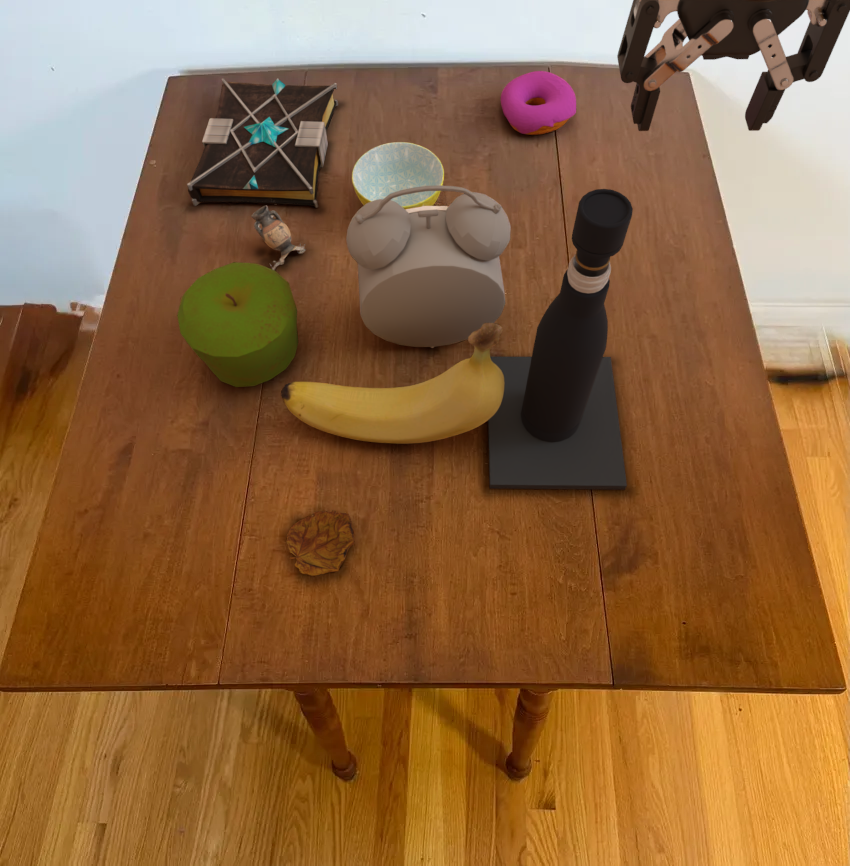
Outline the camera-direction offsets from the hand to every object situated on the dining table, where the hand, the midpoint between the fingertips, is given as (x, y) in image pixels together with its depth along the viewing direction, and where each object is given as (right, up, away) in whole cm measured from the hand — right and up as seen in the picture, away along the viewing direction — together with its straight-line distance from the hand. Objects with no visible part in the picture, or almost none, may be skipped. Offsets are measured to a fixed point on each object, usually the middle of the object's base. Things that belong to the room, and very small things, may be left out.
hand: (696, 124), depth 56 cm
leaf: (-32, -36, +16) cm, 50 cm away
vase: (-40, -1, +35) cm, 53 cm away
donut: (-6, +21, +46) cm, 51 cm away
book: (-43, +15, +44) cm, 63 cm away
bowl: (-25, +5, +38) cm, 45 cm away
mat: (-7, -23, +22) cm, 33 cm away
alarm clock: (-21, -12, +28) cm, 37 cm away
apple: (-41, -15, +27) cm, 52 cm away
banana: (-25, -24, +22) cm, 41 cm away
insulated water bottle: (-8, -23, +21) cm, 32 cm away
